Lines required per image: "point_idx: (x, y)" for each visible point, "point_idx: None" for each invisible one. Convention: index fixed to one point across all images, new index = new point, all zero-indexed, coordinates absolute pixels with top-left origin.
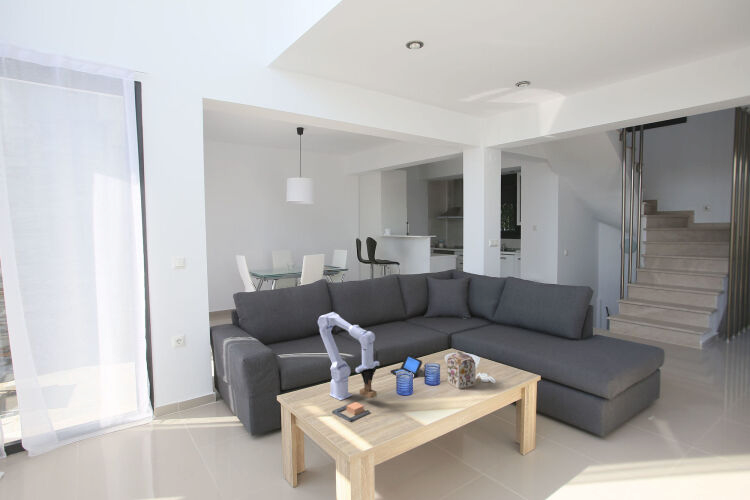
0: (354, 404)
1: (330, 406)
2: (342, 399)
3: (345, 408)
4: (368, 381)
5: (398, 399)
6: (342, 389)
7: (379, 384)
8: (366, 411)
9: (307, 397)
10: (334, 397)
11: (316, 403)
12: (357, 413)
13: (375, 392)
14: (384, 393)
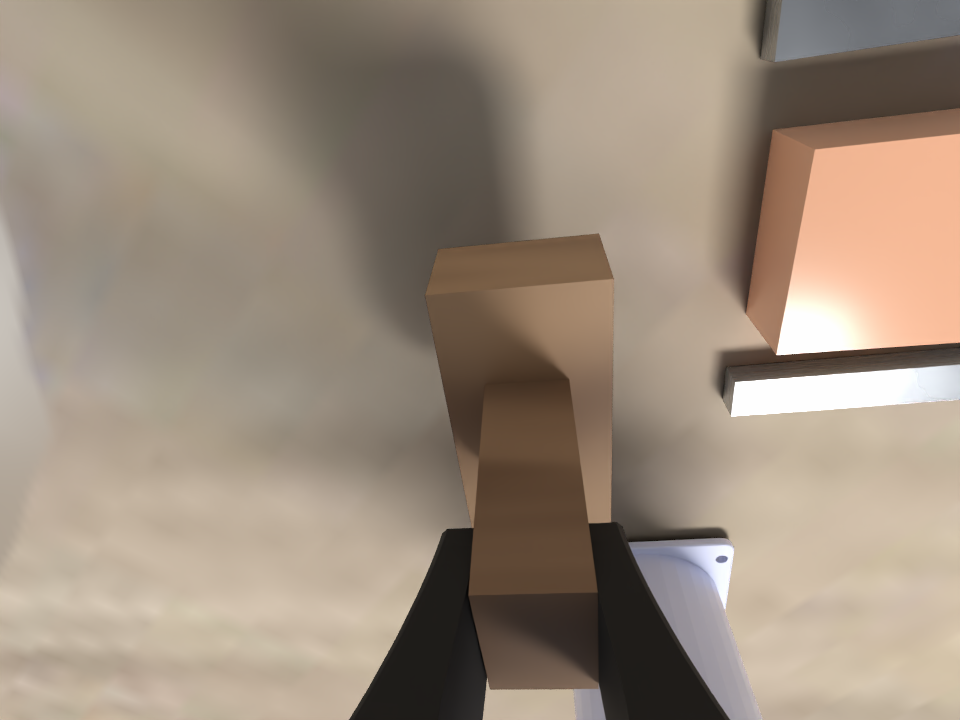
0: (875, 297)
1: (923, 501)
2: (702, 539)
3: (889, 358)
4: (584, 570)
5: (52, 118)
6: (712, 656)
7: (145, 569)
8: (844, 15)
9: (873, 709)
10: (723, 605)
11: (940, 611)
12: (937, 113)
13: (457, 282)
14: (182, 394)
